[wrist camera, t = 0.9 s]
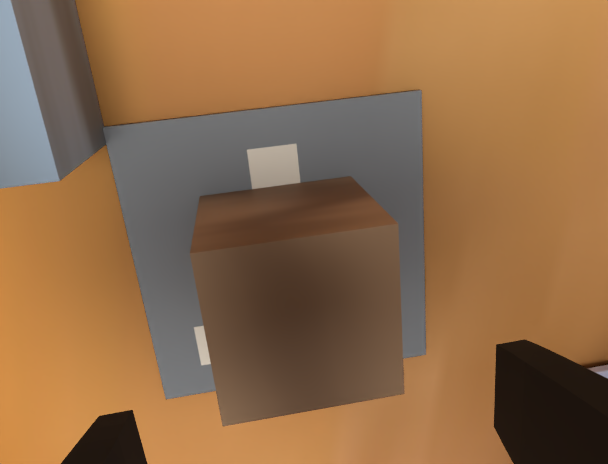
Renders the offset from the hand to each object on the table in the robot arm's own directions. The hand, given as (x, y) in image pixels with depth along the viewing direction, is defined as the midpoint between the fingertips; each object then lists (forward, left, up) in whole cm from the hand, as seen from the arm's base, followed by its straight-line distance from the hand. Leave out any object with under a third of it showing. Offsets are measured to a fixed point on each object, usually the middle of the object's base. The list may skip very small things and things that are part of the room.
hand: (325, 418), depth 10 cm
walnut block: (0, 0, -8) cm, 8 cm away
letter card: (0, 0, -8) cm, 8 cm away
